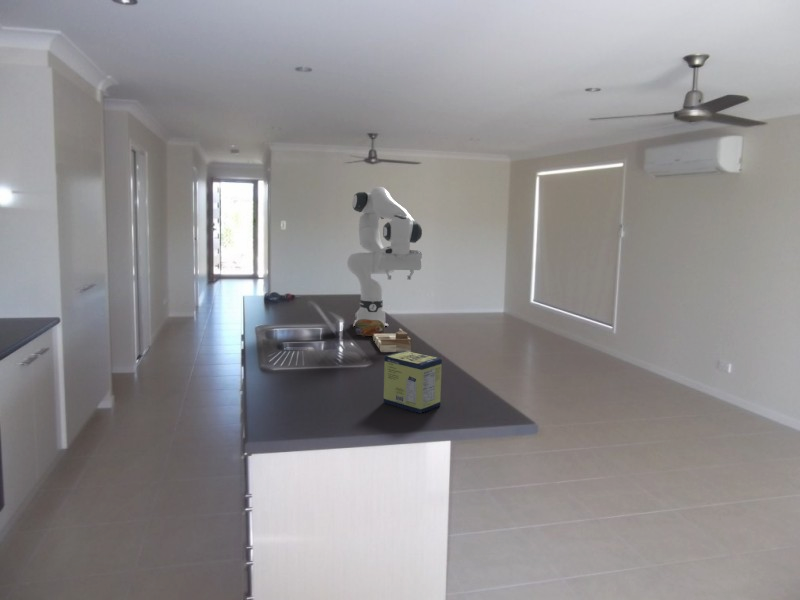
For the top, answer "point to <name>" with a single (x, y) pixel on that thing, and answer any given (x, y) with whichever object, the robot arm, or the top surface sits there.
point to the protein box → (412, 381)
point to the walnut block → (401, 335)
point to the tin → (369, 327)
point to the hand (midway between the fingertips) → (399, 279)
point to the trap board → (392, 342)
